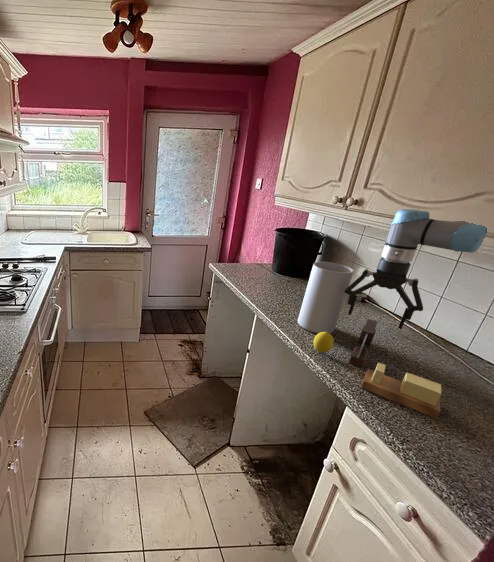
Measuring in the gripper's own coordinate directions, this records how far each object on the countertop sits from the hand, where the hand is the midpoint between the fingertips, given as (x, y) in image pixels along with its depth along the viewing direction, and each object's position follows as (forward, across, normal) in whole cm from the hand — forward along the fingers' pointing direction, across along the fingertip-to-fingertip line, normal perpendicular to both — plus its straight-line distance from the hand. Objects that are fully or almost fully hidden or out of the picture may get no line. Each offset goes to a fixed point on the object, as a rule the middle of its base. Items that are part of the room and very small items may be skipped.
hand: (373, 320), depth 105 cm
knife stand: (+11, 0, -4) cm, 12 cm away
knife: (+8, 0, -4) cm, 9 cm away
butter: (+9, +14, -22) cm, 28 cm away
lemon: (+12, -10, -14) cm, 21 cm away
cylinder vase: (+11, -16, +5) cm, 21 cm away
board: (+12, +10, -22) cm, 27 cm away
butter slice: (+9, +5, -22) cm, 24 cm away
